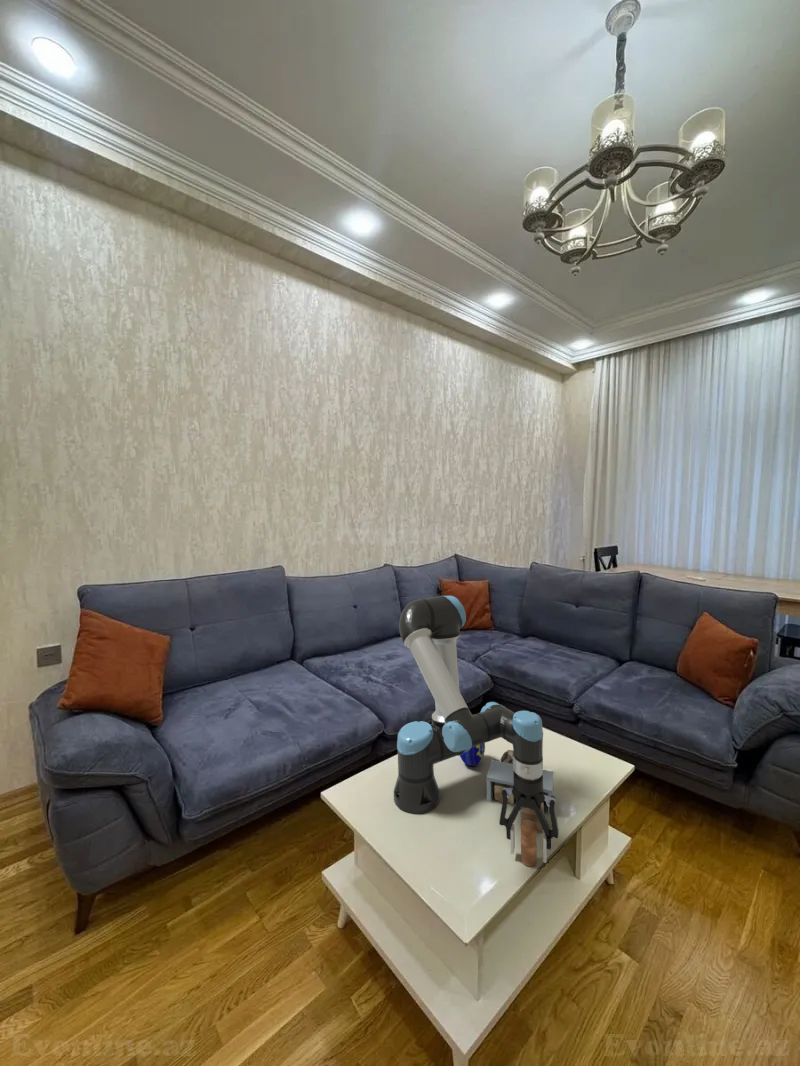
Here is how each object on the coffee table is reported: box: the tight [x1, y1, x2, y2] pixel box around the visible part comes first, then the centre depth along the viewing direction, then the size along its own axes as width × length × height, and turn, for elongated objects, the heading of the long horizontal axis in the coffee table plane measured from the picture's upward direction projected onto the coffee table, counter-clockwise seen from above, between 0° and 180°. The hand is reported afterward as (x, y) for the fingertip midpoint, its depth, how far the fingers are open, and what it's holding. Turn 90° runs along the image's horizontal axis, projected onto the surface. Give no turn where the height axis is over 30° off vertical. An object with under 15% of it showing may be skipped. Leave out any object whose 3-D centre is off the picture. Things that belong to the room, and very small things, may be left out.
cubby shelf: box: [486, 759, 555, 816], centre depth 139 cm, size 20×10×8 cm, turn 68°
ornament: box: [459, 743, 486, 767], centre depth 159 cm, size 11×9×15 cm
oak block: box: [494, 782, 516, 805], centre depth 141 cm, size 6×6×5 cm
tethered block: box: [520, 802, 545, 868], centre depth 122 cm, size 6×20×10 cm, turn 159°
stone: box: [500, 749, 513, 764], centre depth 152 cm, size 7×12×7 cm, turn 33°
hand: (528, 854), depth 115 cm, fingers open, 8 cm apart
